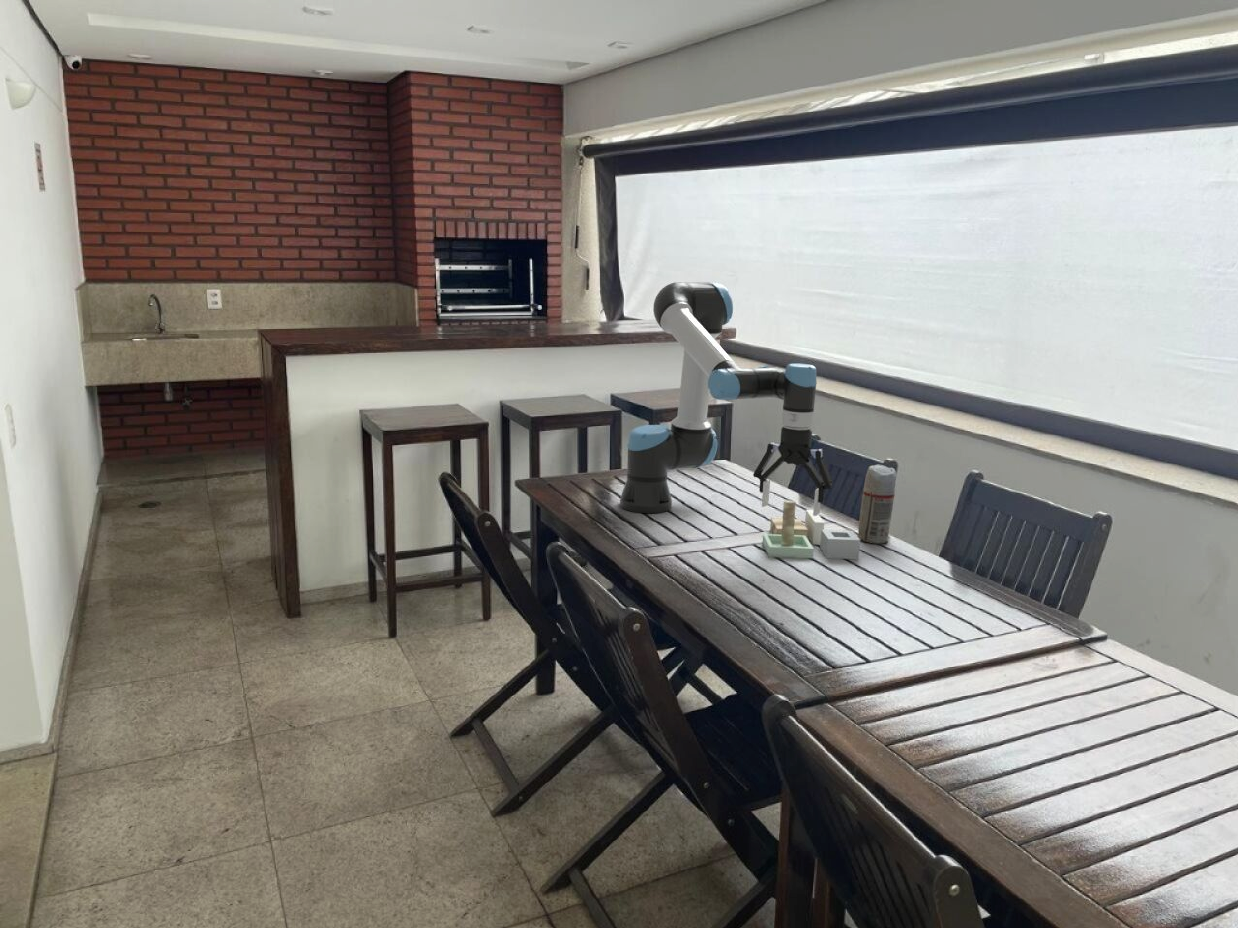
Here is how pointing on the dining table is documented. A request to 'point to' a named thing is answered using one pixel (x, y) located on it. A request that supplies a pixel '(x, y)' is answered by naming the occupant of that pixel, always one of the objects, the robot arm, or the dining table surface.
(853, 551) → the socket block
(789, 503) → the dowel
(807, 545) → the tray
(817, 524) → the block
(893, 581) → the dining table surface
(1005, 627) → the dining table surface
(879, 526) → the spray can
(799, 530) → the grooved wooden block
